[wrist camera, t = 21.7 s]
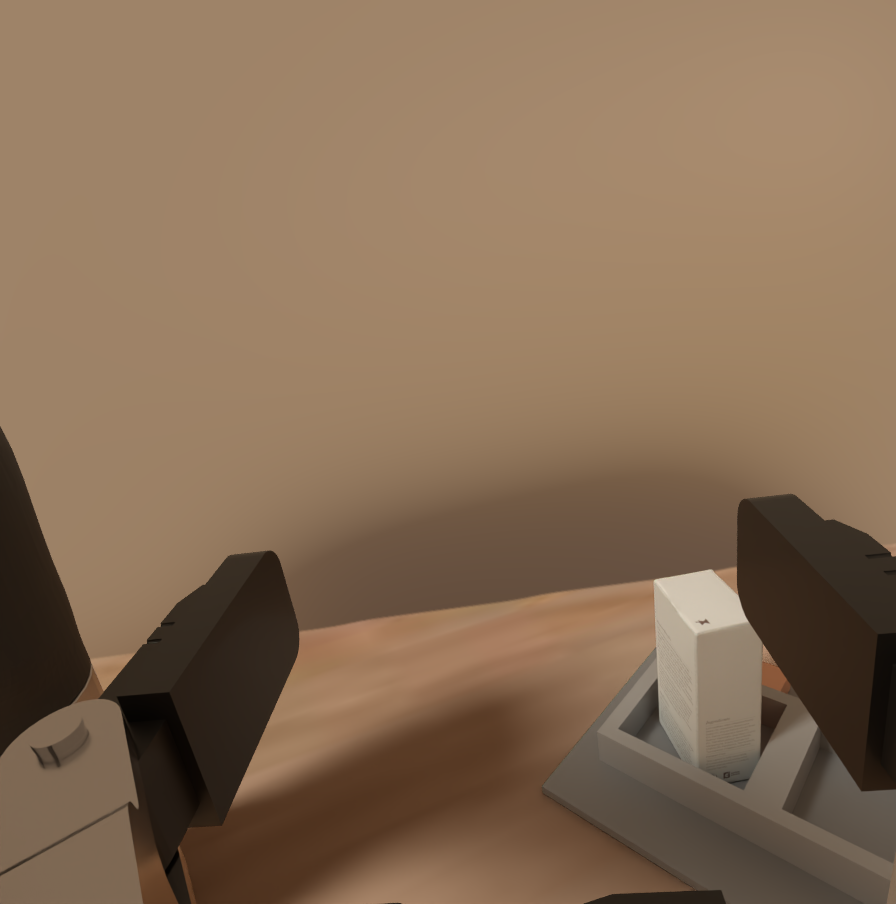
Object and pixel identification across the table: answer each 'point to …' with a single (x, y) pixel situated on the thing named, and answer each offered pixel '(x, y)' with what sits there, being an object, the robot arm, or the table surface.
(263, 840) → the table surface
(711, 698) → the skincare box
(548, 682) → the table surface
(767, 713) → the tray
